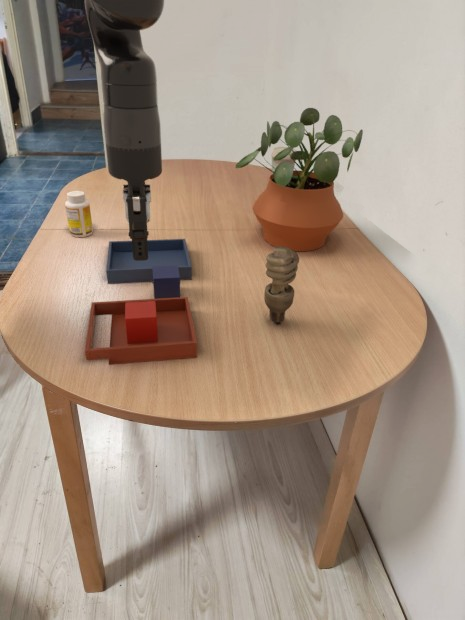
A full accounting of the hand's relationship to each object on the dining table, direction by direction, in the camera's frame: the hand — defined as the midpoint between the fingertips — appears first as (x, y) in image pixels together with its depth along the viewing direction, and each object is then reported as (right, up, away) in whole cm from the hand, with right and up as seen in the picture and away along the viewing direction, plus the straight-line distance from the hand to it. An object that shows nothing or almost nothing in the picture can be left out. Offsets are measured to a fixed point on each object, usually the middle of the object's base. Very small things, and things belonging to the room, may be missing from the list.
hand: (140, 247), depth 71 cm
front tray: (-1, -14, +7) cm, 16 cm away
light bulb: (+22, -12, +12) cm, 28 cm away
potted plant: (+27, +8, +44) cm, 52 cm away
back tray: (-4, 0, +29) cm, 29 cm away
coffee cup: (+31, +31, +80) cm, 91 cm away
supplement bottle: (-23, +9, +41) cm, 48 cm away
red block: (-1, -14, +6) cm, 15 cm away
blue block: (+1, -7, +19) cm, 20 cm away
